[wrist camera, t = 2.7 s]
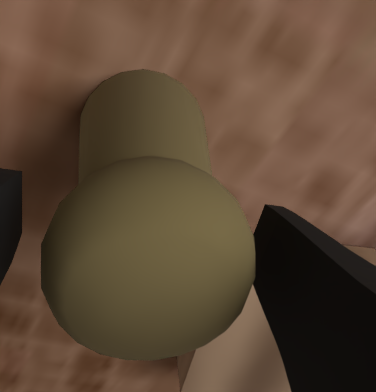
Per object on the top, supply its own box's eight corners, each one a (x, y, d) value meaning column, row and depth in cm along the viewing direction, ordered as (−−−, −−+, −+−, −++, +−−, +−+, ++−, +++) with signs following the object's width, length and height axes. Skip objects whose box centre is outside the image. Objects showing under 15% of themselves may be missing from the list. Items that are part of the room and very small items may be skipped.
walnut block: (374, 248, 22) (404, 280, 20) (309, 356, 28) (327, 393, 25) (215, 230, 20) (226, 264, 17) (175, 352, 25) (180, 392, 22)
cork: (156, 208, 19) (178, 421, 9) (54, 147, 16) (-57, 351, 7) (230, 122, 17) (350, 280, 7) (127, 38, 14) (111, 114, 5)
